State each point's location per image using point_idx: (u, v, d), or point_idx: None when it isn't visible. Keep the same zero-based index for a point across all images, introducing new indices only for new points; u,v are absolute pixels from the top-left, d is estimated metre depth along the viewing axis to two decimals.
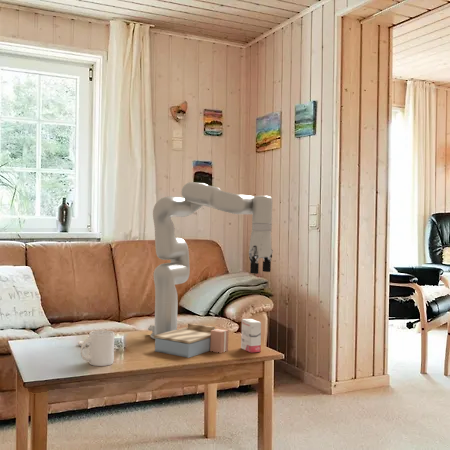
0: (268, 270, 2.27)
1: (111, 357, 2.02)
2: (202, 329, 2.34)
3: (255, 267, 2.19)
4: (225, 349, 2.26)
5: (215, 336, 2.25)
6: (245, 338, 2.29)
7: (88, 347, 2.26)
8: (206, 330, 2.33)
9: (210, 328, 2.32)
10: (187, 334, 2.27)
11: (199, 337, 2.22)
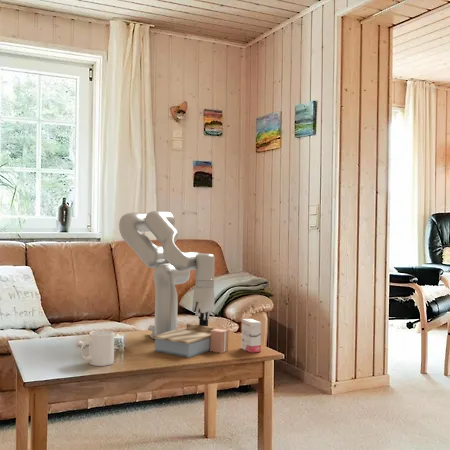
0: None
1: (111, 357, 2.02)
2: (201, 329, 2.33)
3: (203, 324, 2.36)
4: (225, 349, 2.26)
5: (215, 336, 2.25)
6: (245, 338, 2.29)
7: (88, 347, 2.26)
8: (205, 330, 2.33)
9: (209, 328, 2.31)
10: (186, 334, 2.26)
11: (198, 337, 2.21)
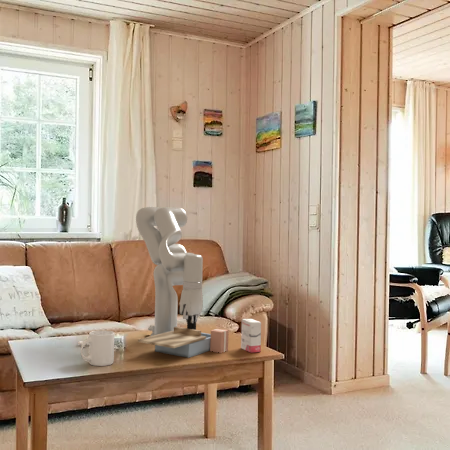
0: None
1: (111, 357, 2.02)
2: (188, 333, 2.26)
3: (191, 327, 2.28)
4: (225, 349, 2.26)
5: (215, 336, 2.25)
6: (245, 338, 2.29)
7: (88, 347, 2.26)
8: (192, 334, 2.25)
9: (196, 332, 2.24)
10: (172, 338, 2.19)
11: (184, 341, 2.14)
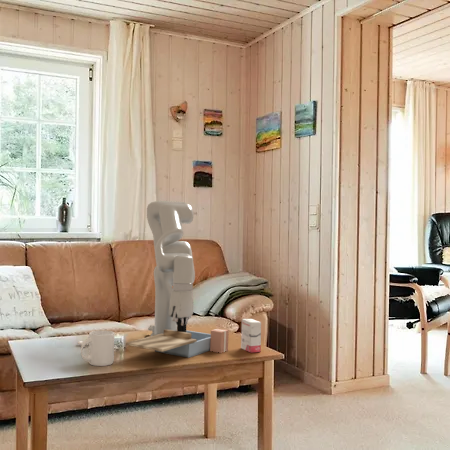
0: None
1: (111, 357, 2.02)
2: (179, 336, 2.21)
3: (181, 329, 2.23)
4: (225, 349, 2.26)
5: (215, 336, 2.25)
6: (245, 338, 2.29)
7: (88, 347, 2.27)
8: (182, 337, 2.20)
9: (186, 334, 2.19)
10: (161, 341, 2.13)
11: (174, 344, 2.08)
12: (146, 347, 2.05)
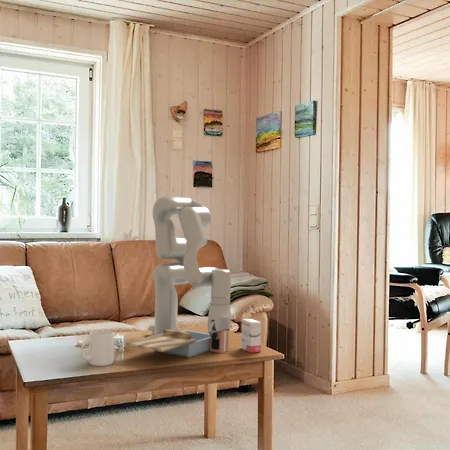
0: None
1: (111, 357, 2.02)
2: (179, 336, 2.21)
3: (216, 343, 2.24)
4: (225, 349, 2.26)
5: None
6: (245, 338, 2.29)
7: None
8: (182, 337, 2.20)
9: (186, 334, 2.19)
10: (161, 341, 2.13)
11: (174, 344, 2.08)
12: (146, 347, 2.05)
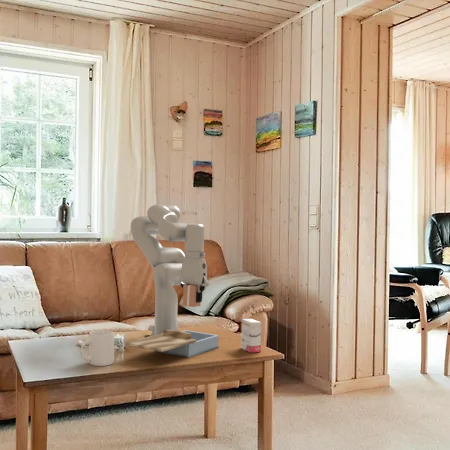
0: None
1: (111, 357, 2.02)
2: (179, 336, 2.21)
3: None
4: (189, 304, 2.27)
5: None
6: (245, 338, 2.29)
7: None
8: (182, 337, 2.20)
9: (186, 334, 2.19)
10: (161, 341, 2.13)
11: (174, 344, 2.08)
12: (146, 347, 2.05)
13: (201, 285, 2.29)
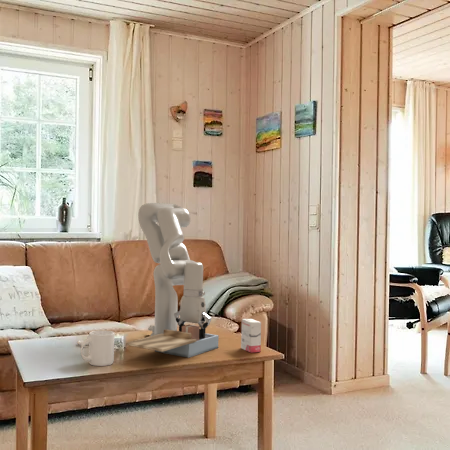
0: None
1: (111, 357, 2.02)
2: (179, 336, 2.21)
3: None
4: None
5: None
6: (245, 338, 2.29)
7: None
8: (182, 337, 2.20)
9: (186, 334, 2.19)
10: (161, 341, 2.13)
11: (174, 344, 2.08)
12: (146, 347, 2.05)
13: (203, 322, 2.28)
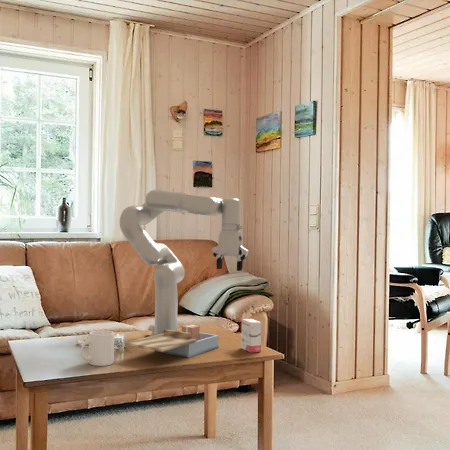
0: None
1: (111, 357, 2.02)
2: (179, 336, 2.21)
3: (217, 263, 2.43)
4: None
5: None
6: (245, 338, 2.29)
7: (87, 346, 2.27)
8: (182, 337, 2.20)
9: (186, 334, 2.19)
10: (161, 341, 2.13)
11: (174, 344, 2.08)
12: (146, 347, 2.05)
13: (240, 255, 2.39)
